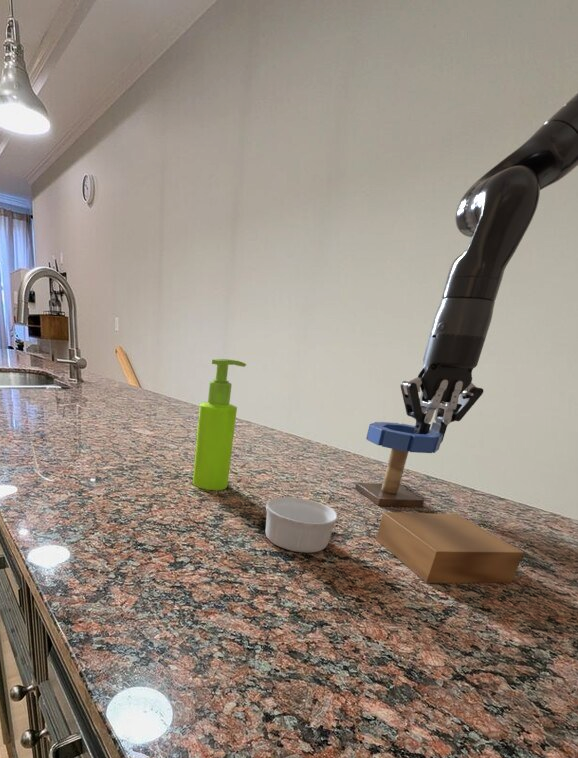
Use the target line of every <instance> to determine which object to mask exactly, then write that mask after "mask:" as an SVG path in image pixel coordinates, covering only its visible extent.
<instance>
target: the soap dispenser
mask: <svg viewBox="0 0 578 758" xmlns="http://www.w3.org/2000/svg"><path fill="white" fill-rule="evenodd" d="M211 364H212V365H215V366H216V372H215V379H213V380H210V381H209V386H208V398H207V401H205V402H200V403H199V407H198V418H197V431H196V442H195V452H194V453H195V454H194V464H193V475H192V485H194V486H195V487H196V488H199V489H203V490H207V491H208V490H209V491H221V490H225V489H227V488H228V484H229V478H230V477H229V476H230V469H231V461H232V452H233V445H234V444H233V443H234V436H235V428H236V420H237V411H238V407H237V406H235V405H234V404H231V403H230V402H231V394H232V386H233V385H232V383H231V382H230V380H228V370H229V366H233V365H234V366H238V367H243V368H245V367H246V366H247V363H245V362H242V361H239V360H235V359H229V358H218V359H217V358H216V359H212V360H211Z"/></svg>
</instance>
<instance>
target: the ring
mask: <svg viewBox="0 0 578 758" xmlns="http://www.w3.org/2000/svg"><path fill="white" fill-rule="evenodd" d="M414 428H415V425H414V424H413V425H412V424H407V423H398V422H388V421H375V422H372V423H370V424H369V426H368V429H367V434H366V440H367V441H369V442H370V443H372V444H374V445H376V446H381V447H383V448H387V449H391V450H392V449H396V450H401V451H405V452H406V451H409V452H408V453H419V454H436V452H437V451H439V449H440V447H441V445H442V442H443V441H442V437H443V434H442V433H439V432H436V431H434V430H431V428H430V429H429V432H428V434H413V432H414ZM441 441H442V442H441Z"/></svg>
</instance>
